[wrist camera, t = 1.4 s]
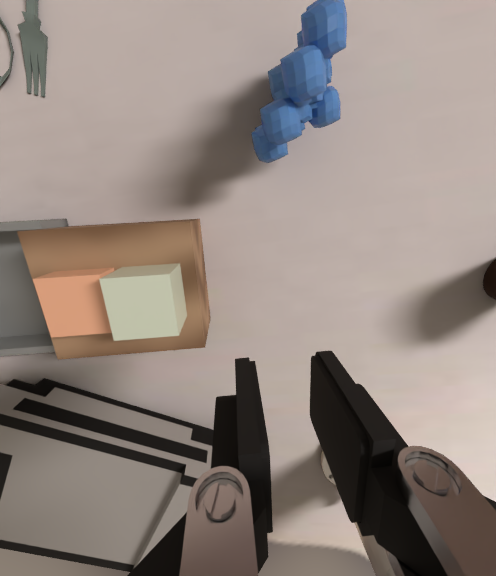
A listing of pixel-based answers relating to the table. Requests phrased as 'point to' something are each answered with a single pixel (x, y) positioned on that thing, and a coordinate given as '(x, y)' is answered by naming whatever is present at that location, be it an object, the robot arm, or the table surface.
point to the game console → (92, 474)
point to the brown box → (125, 253)
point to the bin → (21, 294)
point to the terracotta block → (73, 302)
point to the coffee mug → (490, 280)
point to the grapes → (303, 82)
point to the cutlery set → (31, 48)
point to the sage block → (145, 301)
